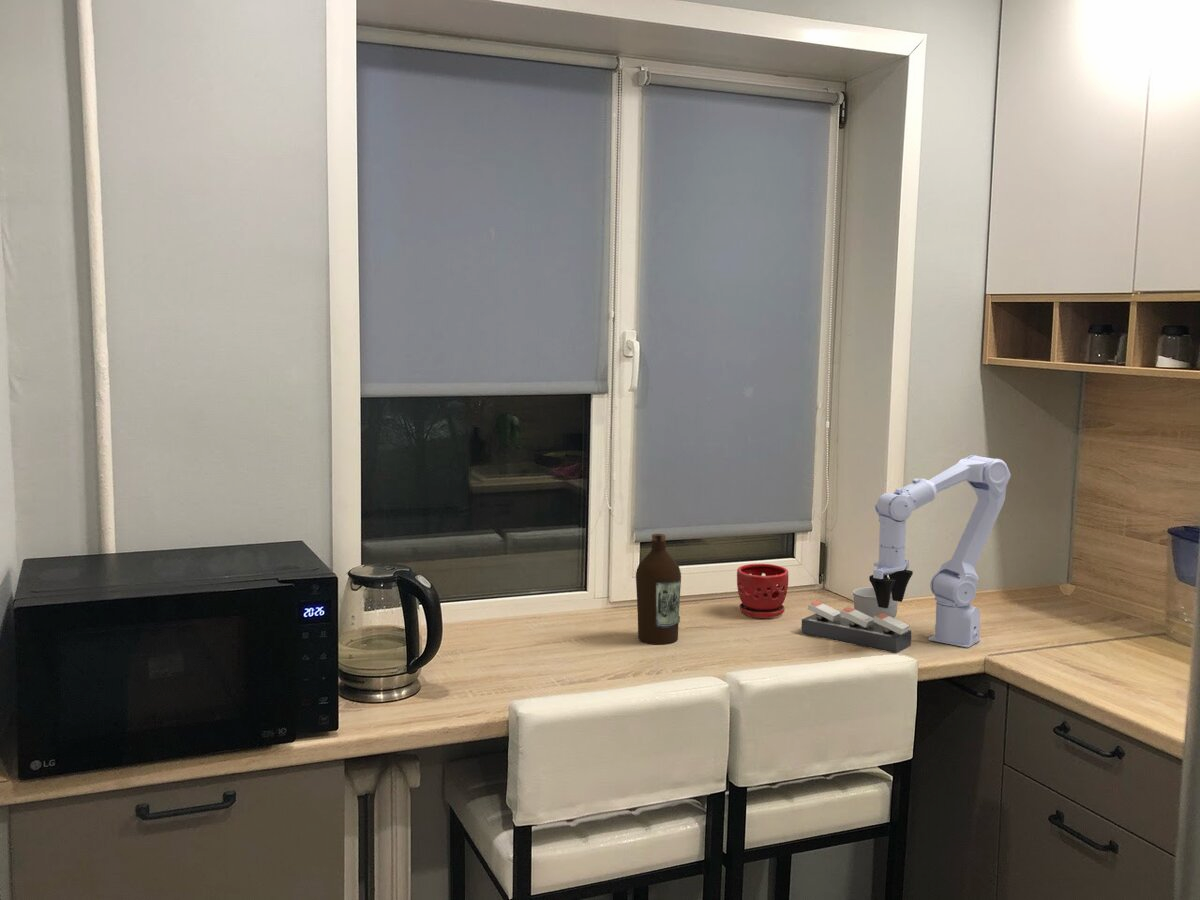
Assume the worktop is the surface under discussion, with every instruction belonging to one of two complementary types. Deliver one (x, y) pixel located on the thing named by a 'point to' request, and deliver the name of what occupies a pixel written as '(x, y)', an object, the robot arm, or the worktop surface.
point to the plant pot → (762, 589)
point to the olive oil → (658, 595)
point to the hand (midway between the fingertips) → (890, 604)
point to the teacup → (872, 603)
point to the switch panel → (856, 633)
